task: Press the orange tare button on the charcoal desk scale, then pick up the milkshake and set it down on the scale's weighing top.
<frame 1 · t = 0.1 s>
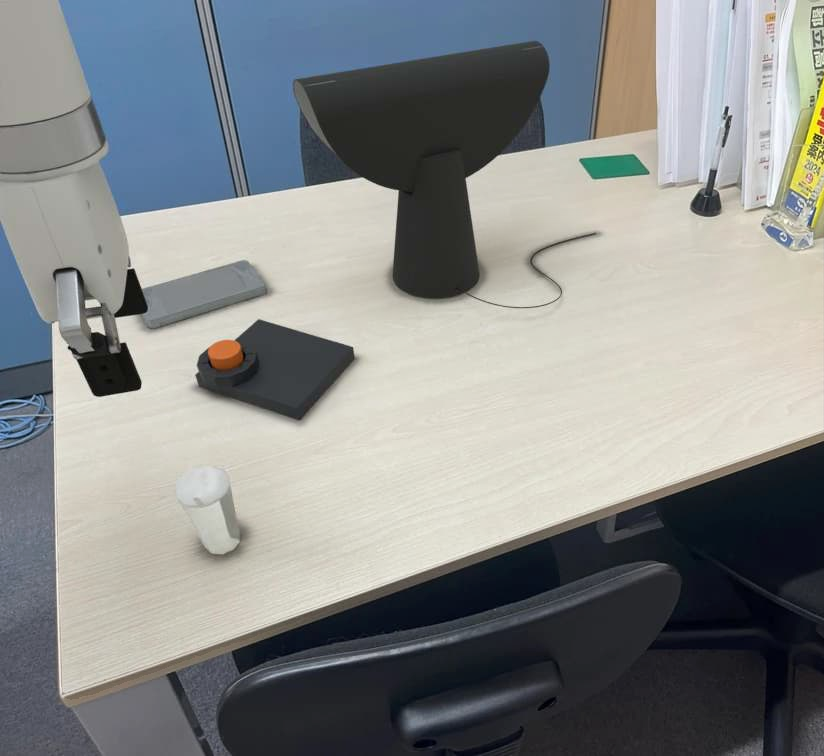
hand: (123, 350, 55), 22 cm above the table, tool pointing down, fingers open, 9 cm apart
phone: (202, 297, 98), on the table
tare button: (225, 354, 82), point 4 cm above the table, slide at 0.1 cm
scale: (279, 372, 86), on the table
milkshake: (223, 545, 68), on the table
table lamp: (478, 272, 105), on the table
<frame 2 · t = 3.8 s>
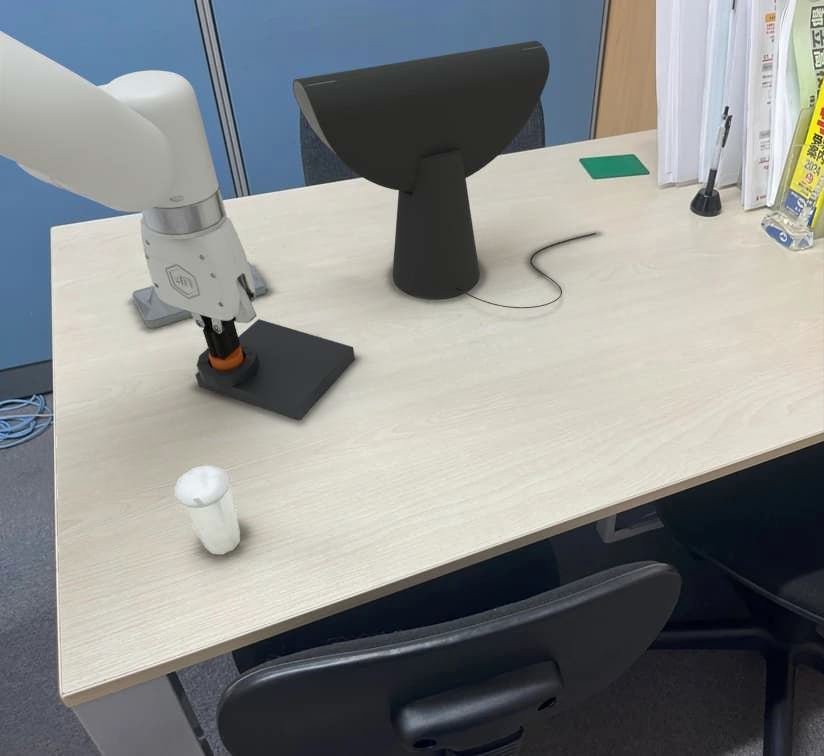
hand: (226, 351, 82), 4 cm above the table, tool pointing down, fingers closed
tare button: (226, 357, 83), point 4 cm above the table, slide at -0.3 cm, touching gripper
everything else where it was.
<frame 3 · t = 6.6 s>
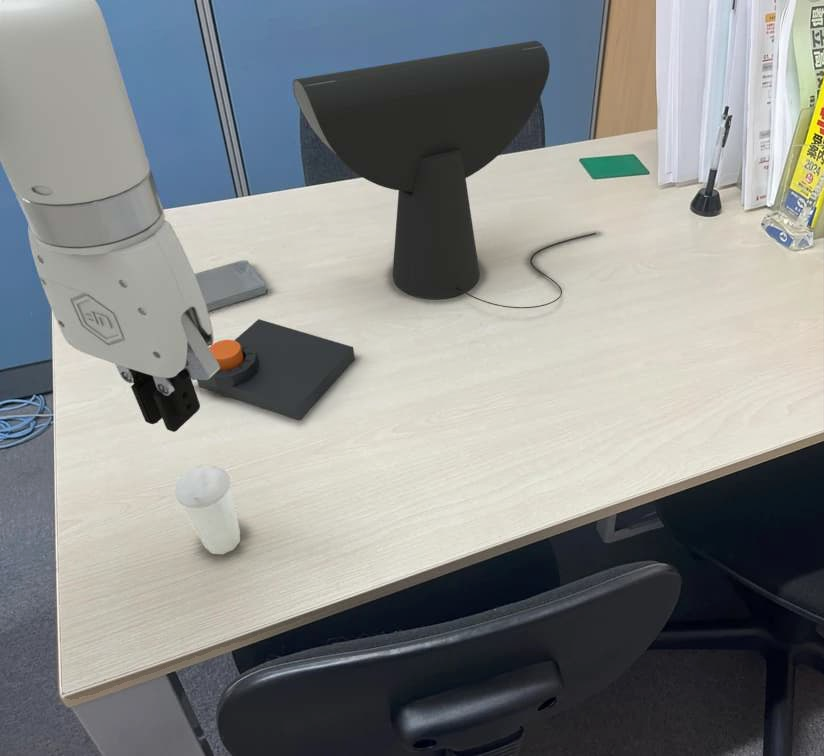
hand: (173, 415, 56), 17 cm above the table, tool pointing down, fingers closed
tare button: (225, 354, 82), point 4 cm above the table, slide at 0.1 cm
everything else where it was.
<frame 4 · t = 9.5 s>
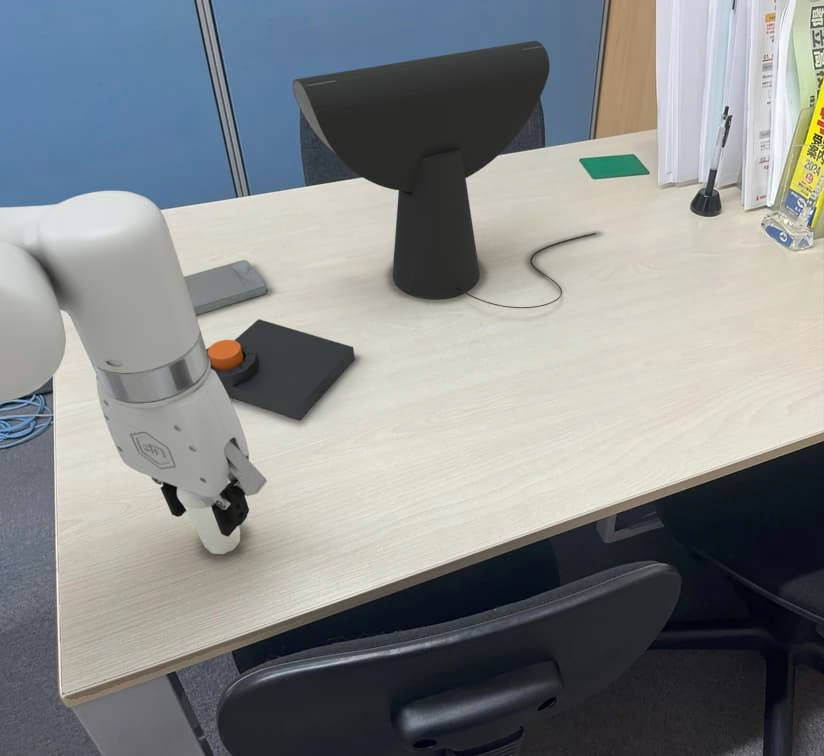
hand: (211, 512, 64), 5 cm above the table, tool pointing down, fingers closed on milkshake, 4 cm apart
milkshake: (223, 545, 68), on the table, touching gripper
everything else where it was.
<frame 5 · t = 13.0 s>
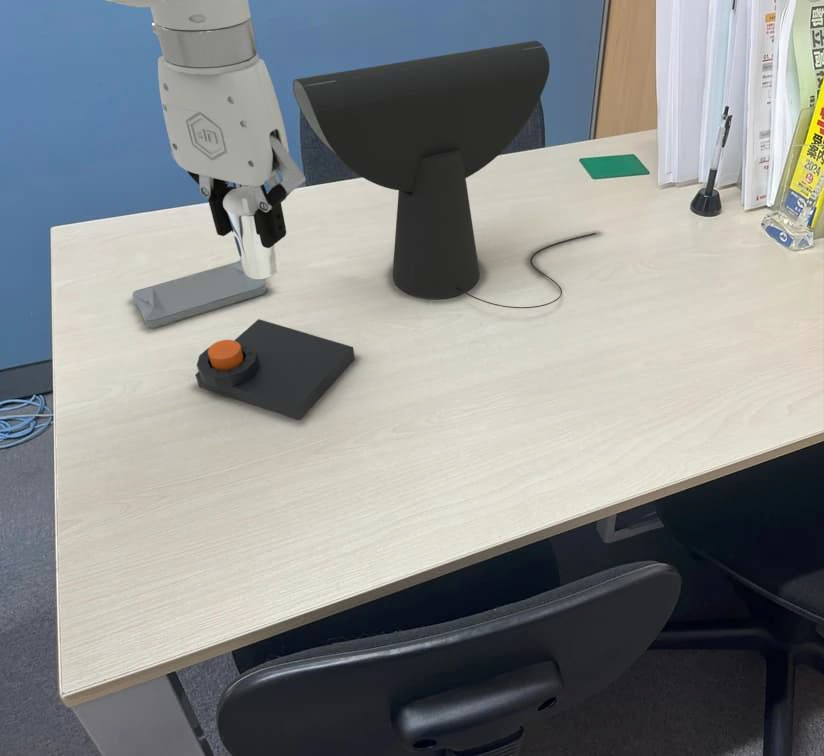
hand: (252, 233, 71), 20 cm above the table, tool pointing down, fingers closed on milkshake, 4 cm apart
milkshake: (261, 275, 74), point 16 cm above the table, touching gripper
everything else where it was.
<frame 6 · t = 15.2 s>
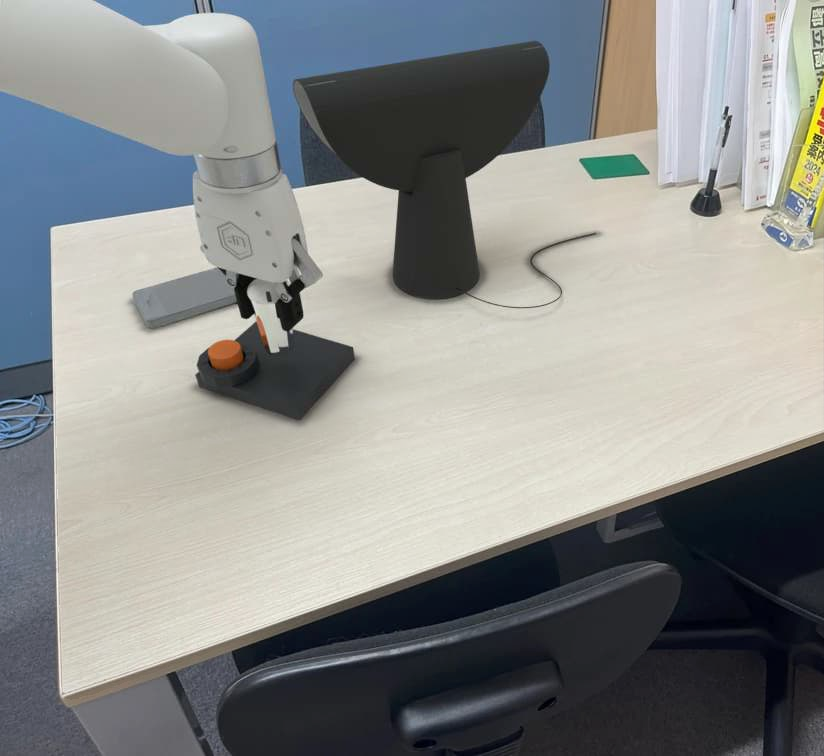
hand: (272, 316, 79), 10 cm above the table, tool pointing down, fingers closed on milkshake, 4 cm apart
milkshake: (280, 351, 82), point 5 cm above the table, touching gripper
everything else where it was.
when the fingers open (7 cm above the table, at t = 16.6 s): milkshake stays where it is, resting on scale.
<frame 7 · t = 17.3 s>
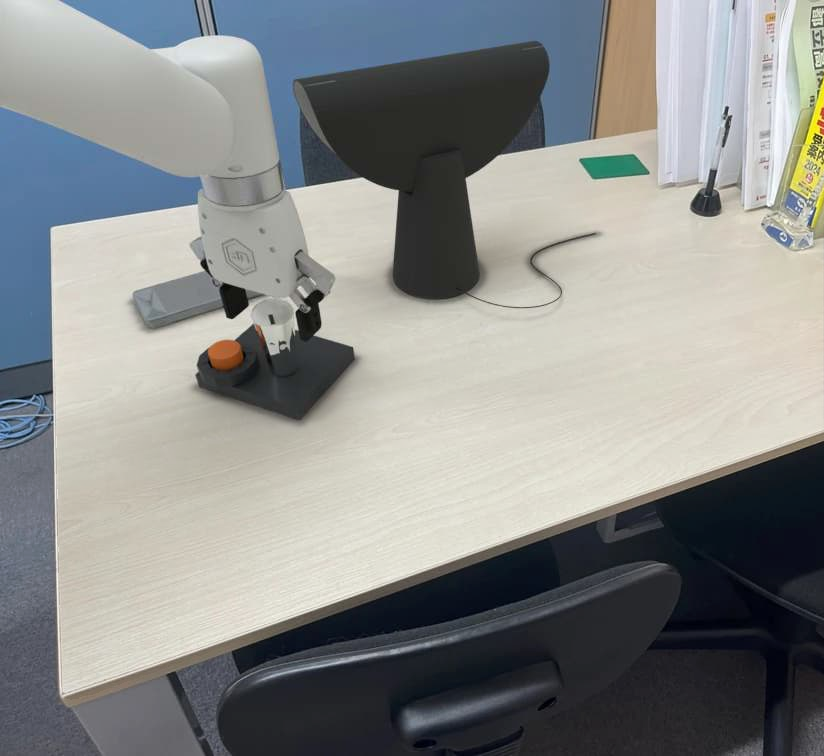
hand: (274, 323, 79), 9 cm above the table, tool pointing down, fingers open, 9 cm apart
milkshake: (285, 371, 84), point 2 cm above the table, touching scale
everything else where it was.
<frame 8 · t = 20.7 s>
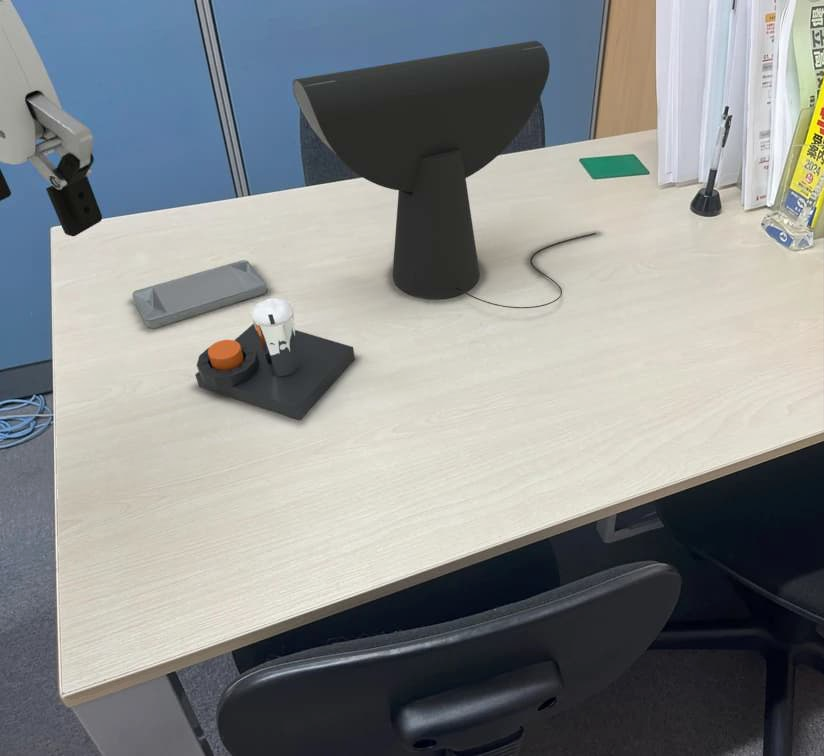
hand: (38, 214, 57), 28 cm above the table, tool pointing down, fingers open, 9 cm apart
nothing on the table moved.
at the end: tare button pushed in 0.9 cm at the most during the clip, back to where it started at the end; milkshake inside the target area on the scale (1.2 cm from its centre), point 1.7 cm above the scale's base; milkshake touching scale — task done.
